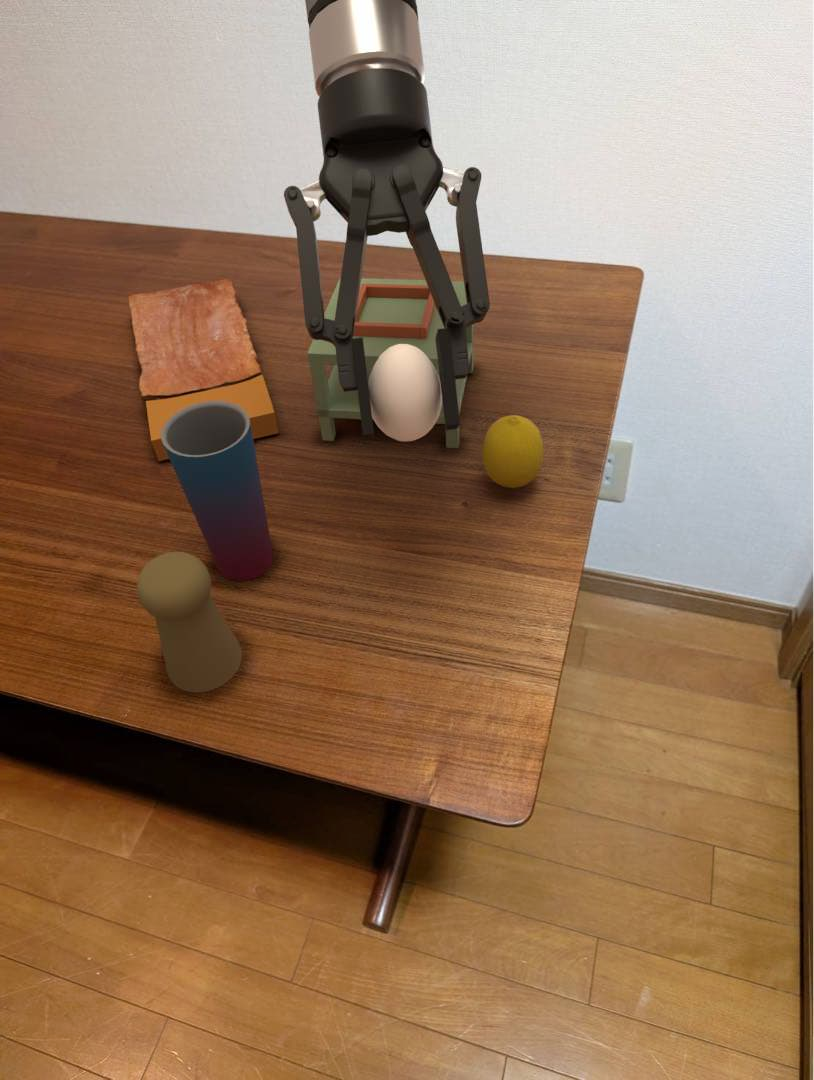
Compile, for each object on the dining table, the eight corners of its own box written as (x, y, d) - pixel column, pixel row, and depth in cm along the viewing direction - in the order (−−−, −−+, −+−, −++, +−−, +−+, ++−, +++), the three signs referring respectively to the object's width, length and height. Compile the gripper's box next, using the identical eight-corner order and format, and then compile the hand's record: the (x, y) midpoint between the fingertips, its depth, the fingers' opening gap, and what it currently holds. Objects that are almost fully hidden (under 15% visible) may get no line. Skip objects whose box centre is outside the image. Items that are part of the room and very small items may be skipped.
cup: (235, 601, 71) (191, 469, 60) (192, 560, 74) (143, 428, 64) (298, 559, 74) (267, 426, 63) (254, 521, 77) (218, 389, 67)
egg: (437, 461, 60) (433, 373, 54) (365, 455, 61) (353, 367, 55) (448, 415, 63) (446, 328, 58) (380, 410, 64) (371, 324, 59)
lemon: (477, 501, 78) (477, 434, 72) (487, 463, 81) (488, 396, 75) (536, 508, 76) (541, 441, 71) (544, 469, 80) (549, 402, 74)
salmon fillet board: (154, 464, 84) (145, 439, 82) (134, 317, 104) (126, 293, 102) (281, 434, 86) (275, 409, 84) (237, 296, 106) (231, 272, 104)
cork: (192, 622, 70) (155, 531, 62) (255, 641, 68) (226, 549, 60) (152, 680, 66) (107, 590, 58) (218, 701, 64) (181, 611, 56)
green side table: (473, 367, 92) (472, 270, 84) (457, 448, 83) (455, 348, 75) (350, 362, 95) (338, 266, 86) (322, 440, 85) (305, 342, 77)
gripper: (495, 107, 61) (531, 423, 61) (247, 132, 60) (285, 452, 61) (511, 48, 53) (552, 409, 54) (228, 76, 53) (272, 441, 53)
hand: (410, 431), depth 57 cm, fingers closed on egg, 5 cm apart
